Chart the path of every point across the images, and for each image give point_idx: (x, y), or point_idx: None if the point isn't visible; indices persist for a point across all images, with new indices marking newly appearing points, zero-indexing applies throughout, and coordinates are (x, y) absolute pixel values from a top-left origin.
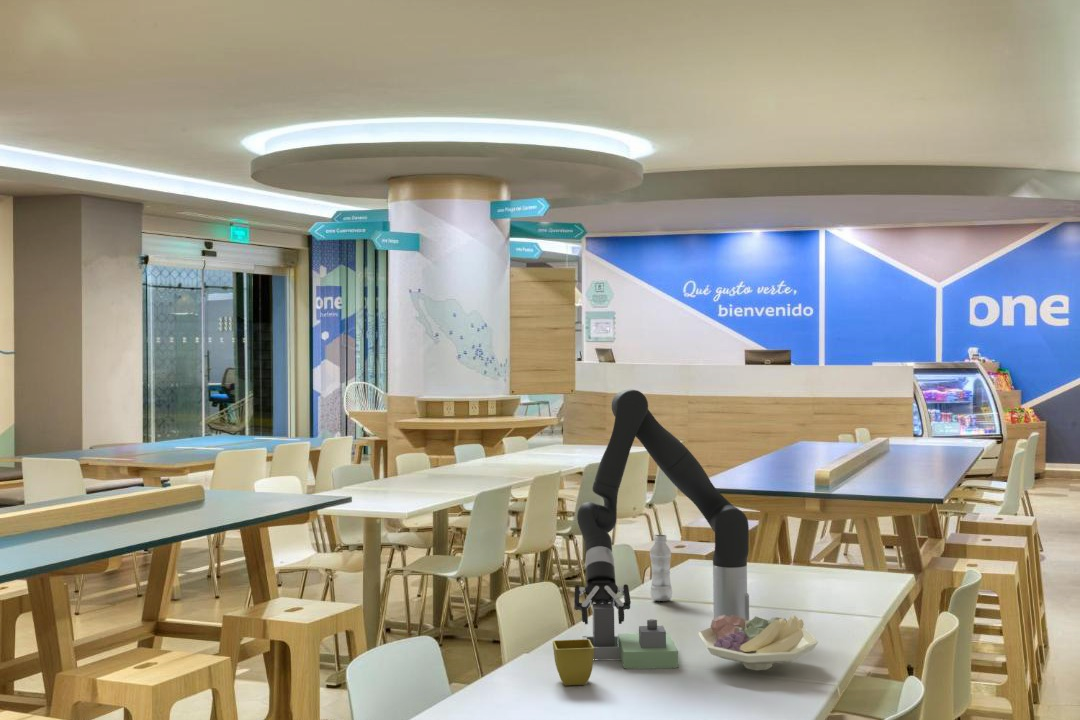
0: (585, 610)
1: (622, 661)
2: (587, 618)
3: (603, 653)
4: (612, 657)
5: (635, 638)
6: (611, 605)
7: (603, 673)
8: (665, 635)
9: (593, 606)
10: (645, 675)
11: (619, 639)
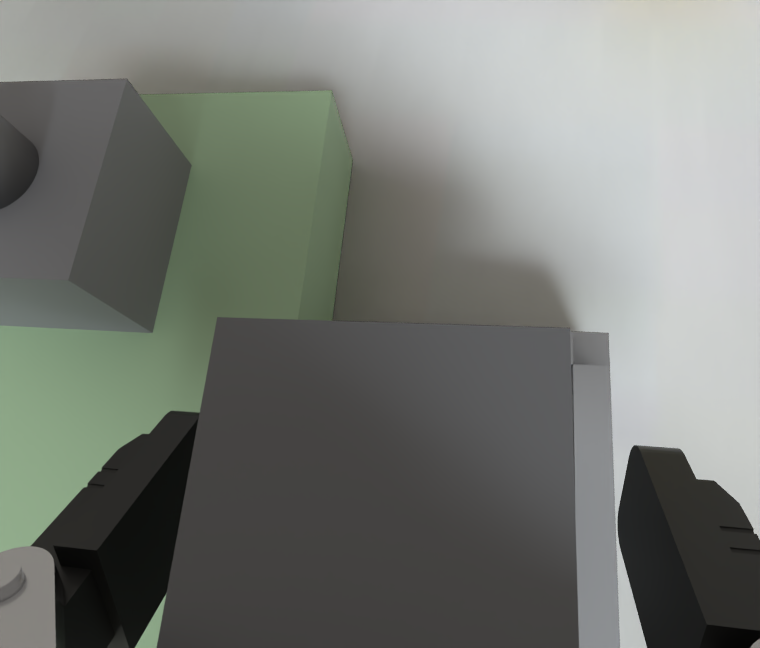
0: (722, 570)
1: (336, 258)
2: (645, 456)
3: None
4: None
5: None
6: (195, 581)
7: (484, 85)
8: None
9: (572, 546)
10: (269, 50)
11: None
